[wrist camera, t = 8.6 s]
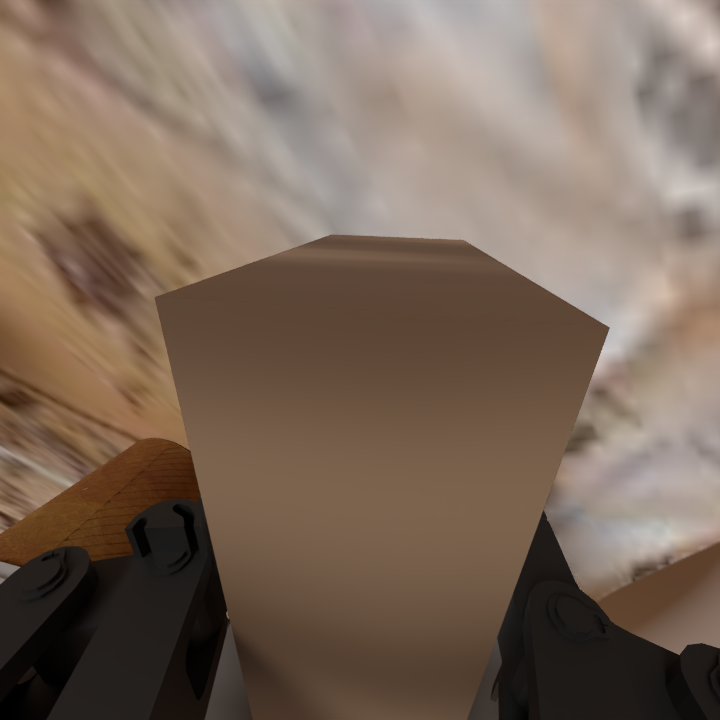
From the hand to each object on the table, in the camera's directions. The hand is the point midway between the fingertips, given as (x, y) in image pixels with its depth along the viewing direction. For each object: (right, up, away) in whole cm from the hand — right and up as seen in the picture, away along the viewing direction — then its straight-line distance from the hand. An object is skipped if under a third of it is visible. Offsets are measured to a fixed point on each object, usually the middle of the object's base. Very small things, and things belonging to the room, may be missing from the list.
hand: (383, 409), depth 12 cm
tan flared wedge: (0, 0, +1) cm, 1 cm away
